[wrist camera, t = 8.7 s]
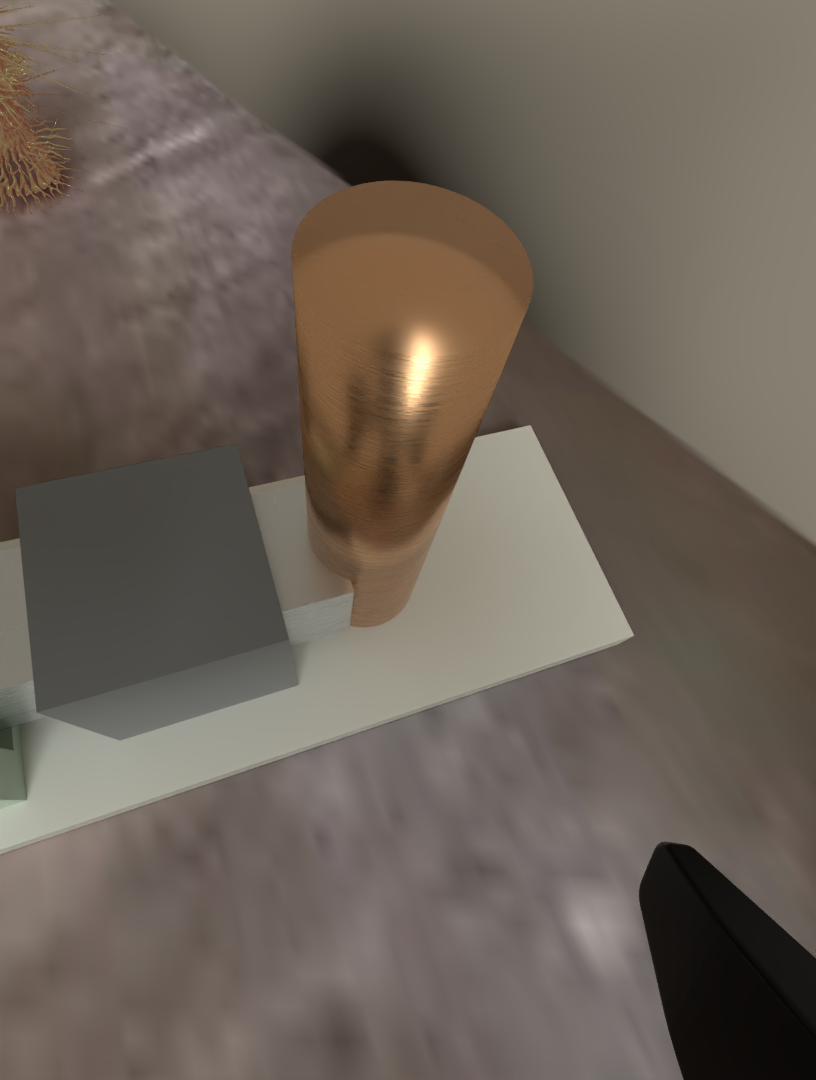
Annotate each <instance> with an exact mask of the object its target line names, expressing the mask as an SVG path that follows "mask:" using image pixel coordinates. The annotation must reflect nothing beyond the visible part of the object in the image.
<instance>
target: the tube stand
mask: <svg viewBox="0 0 816 1080" xmlns="http://www.w3.org/2000/svg"><path fill="white" fill-rule="evenodd" d="M302 483H305V475H303V476H298V477H294V478H289V479H285V480H280V481H276V482H271V483H267V484H262V485H258V486H253V487H248V483H247V479H246V475H245V472H244V468H243V464H242V460H241V457H240V453H239V449H238V445H237V444H232V445H227V446H222V447H217V448H212V449H207V450H202V451H197V452H192V453H187V454H182V455H177V456H172V457H167V458H162V459H157V460H152V461H147V462H142V463H137V464H132V465H128V466H123V467H118V468H113V469H108V470H103V471H98V472H93V473H88V474H83V475H78V476H73V477H68V478H63V479H58V480H53V481H48V482H43V483H38V484H33V485H28V486H23V487H18V488H15V497H16V507H17V517H18V528H19V538H18V539H13V540H9V541H4V542H0V551H3V550H7V549H12V548H16V547H20V548H21V559H22V569H23V579H24V589H25V600H26V610H27V620H28V631H29V641H30V651H31V661H32V672H33V682H34V692H35V703H36V713H39V714H42V715H45V716H48V717H47V718H43V719H40V720H36V721H33V722H29V723H26V724H23V725H20V730H21V741H22V753H23V764H24V776H25V787H26V799H27V801H24V802H21V803H18V804H14V805H11V806H8V807H5V808H2V809H0V854H3V853H6V852H8V851H11V850H14V849H17V848H20V847H23V846H26V845H29V844H32V843H35V842H38V841H41V840H44V839H47V838H50V837H53V836H56V835H59V834H61V833H64V832H67V831H70V830H73V829H76V828H79V827H82V826H85V825H88V824H91V823H94V822H97V821H100V820H103V819H106V818H109V817H111V816H114V815H117V814H120V813H123V812H126V811H129V810H132V809H135V808H138V807H141V806H144V805H147V804H150V803H153V802H156V801H159V800H162V799H164V798H167V797H170V796H173V795H176V794H179V793H182V792H185V791H188V790H191V789H194V788H197V787H200V786H203V785H206V784H209V783H212V782H215V781H217V780H220V779H223V778H226V777H229V776H232V775H235V774H238V773H241V772H244V771H247V770H250V769H253V768H256V767H259V766H262V765H265V764H267V763H270V762H273V761H276V760H279V759H282V758H285V757H288V756H291V755H294V754H297V753H300V752H303V751H306V750H309V749H312V748H315V747H318V746H320V745H323V744H326V743H329V742H332V741H335V740H338V739H341V738H344V737H347V736H350V735H353V734H356V733H359V732H362V731H365V730H368V729H370V728H373V727H376V726H379V725H382V724H385V723H388V722H391V721H394V720H397V719H400V718H403V717H406V716H409V715H412V714H415V713H418V712H421V711H423V710H426V709H429V708H432V707H435V706H438V705H441V704H444V703H447V702H450V701H453V700H456V699H459V698H462V697H465V696H468V695H471V694H474V693H476V692H479V691H482V690H485V689H488V688H491V687H494V686H497V685H500V684H503V683H506V682H509V681H512V680H515V679H518V678H521V677H524V676H526V675H529V674H532V673H535V672H538V671H541V670H544V669H547V668H550V667H553V666H556V665H559V664H562V663H565V662H568V661H571V660H574V659H577V658H579V657H582V656H585V655H588V654H591V653H594V652H597V651H600V650H603V649H606V648H609V647H612V646H615V645H618V644H620V643H622V642H623V641H625V640H627V639H629V638H630V637H632V636H634V634H633V632H632V630H631V628H630V626H629V624H628V622H627V620H626V618H625V616H624V614H623V612H622V610H621V608H620V606H619V604H618V602H617V600H616V598H615V596H614V594H613V592H612V590H611V588H610V586H609V584H608V582H607V580H606V578H605V575H604V573H603V571H602V569H601V567H600V565H599V563H598V561H597V559H596V557H595V555H594V553H593V551H592V549H591V547H590V545H589V543H588V541H587V539H586V537H585V535H584V533H583V531H582V529H581V527H580V525H579V523H578V521H577V519H576V517H575V515H574V513H573V511H572V508H571V506H570V504H569V502H568V500H567V498H566V496H565V494H564V492H563V490H562V488H561V486H560V484H559V482H558V480H557V478H556V476H555V474H554V472H553V470H552V468H551V466H550V464H549V462H548V460H547V458H546V456H545V454H544V452H543V450H542V448H541V446H540V444H539V442H538V439H537V437H536V435H535V433H534V431H533V429H532V427H531V425H529V426H525V427H520V428H516V429H511V430H507V431H502V432H498V433H493V434H488V435H484V436H479V437H475V439H474V441H473V444H472V446H471V449H470V451H469V454H468V456H467V459H466V461H465V463H464V466H463V468H462V471H461V473H460V476H459V478H458V481H457V483H456V486H455V488H454V491H453V493H452V495H451V498H450V500H449V503H448V505H447V508H446V510H445V513H444V515H443V518H442V520H441V523H440V525H439V527H438V530H437V532H436V535H435V537H434V540H433V542H432V545H431V547H430V550H429V552H428V555H427V557H426V559H425V562H424V564H423V567H422V569H421V572H420V574H419V577H418V579H417V582H416V584H415V586H414V589H413V591H412V594H411V596H410V599H409V601H408V603H407V604H406V606H405V607H404V608H403V610H402V611H401V612H400V613H399V614H398V615H397V616H395V617H394V618H393V619H391V620H389V621H388V622H386V623H383V624H381V625H378V626H373V627H365V628H364V627H353V626H349V629H347V630H344V631H340V632H337V633H333V634H330V635H327V636H323V637H320V638H316V639H313V640H310V641H306V642H303V643H299V644H296V645H292V646H290V641H289V637H288V633H287V629H286V625H285V622H284V618H283V614H282V610H281V607H280V603H279V599H278V595H277V592H276V588H275V584H274V580H273V577H272V573H271V569H270V565H269V562H268V558H267V554H266V550H265V547H264V543H263V539H262V535H261V532H260V528H259V524H258V520H257V517H256V513H255V509H254V505H253V502H252V498H251V495H253V494H257V493H262V492H266V491H270V490H275V489H279V488H284V487H288V486H293V485H297V484H302Z"/></svg>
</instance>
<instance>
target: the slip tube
mask: <svg viewBox="0 0 816 1080" xmlns="http://www.w3.org/2000/svg"><path fill="white" fill-rule="evenodd" d="M292 270H293V287H294V304H295V321H296V338H297V355H298V372H299V389H300V406H301V424H302V441H303V458H304V475H305V483H302V484H297V485H293V486H288V487H284V488H279V489H275V490H270V491H266V492H262V493H257V494H253V495H251V498H252V502H253V505H254V509H255V513H256V517H257V520H258V524H259V528H260V532H261V535H262V539H263V543H264V547H265V550H266V554H267V558H268V562H269V565H270V569H271V573H272V577H273V580H274V584H275V588H276V592H277V595H278V599H279V603H280V607H281V610H282V614H283V618H284V622H285V625H286V629H287V633H288V637H289V641H290V646H292V645H296V644H299V643H303V642H306V641H310V640H313V639H316V638H320V637H323V636H327V635H330V634H333V633H337V632H340V631H344V630H347V629H349V626H353V627H364V628H365V627H373V626H378V625H381V624H383V623H386V622H388V621H389V620H391V619H393V618H394V617H395V616H397V615H398V614H399V613H400V612H401V611H402V610H403V608H404V607H405V606H406V604H407V603H408V601H409V599H410V596H411V594H412V591H413V589H414V586H415V584H416V582H417V579H418V577H419V574H420V572H421V569H422V567H423V564H424V562H425V559H426V557H427V555H428V552H429V550H430V547H431V545H432V542H433V540H434V537H435V535H436V532H437V530H438V527H439V525H440V523H441V520H442V518H443V515H444V513H445V510H446V508H447V505H448V503H449V500H450V498H451V495H452V493H453V491H454V488H455V486H456V483H457V481H458V478H459V476H460V473H461V471H462V468H463V466H464V463H465V461H466V459H467V456H468V454H469V451H470V449H471V446H472V444H473V441H474V439H475V436H476V434H477V432H478V429H479V427H480V424H481V422H482V419H483V417H484V414H485V412H486V409H487V407H488V404H489V402H490V400H491V397H492V395H493V392H494V390H495V387H496V385H497V382H498V380H499V377H500V375H501V372H502V370H503V368H504V365H505V363H506V360H507V358H508V355H509V353H510V350H511V348H512V345H513V343H514V340H515V338H516V336H517V333H518V331H519V328H520V326H521V323H522V321H523V318H524V316H525V313H526V311H527V308H528V306H529V303H530V301H531V296H532V292H533V273H532V267H531V264H530V261H529V258H528V255H527V253H526V251H525V249H524V247H523V245H522V244H521V242H520V241H519V239H518V238H517V236H516V235H515V234H514V233H513V231H512V230H511V229H510V228H509V227H508V226H507V225H506V224H505V223H504V222H503V221H502V220H501V219H500V218H499V217H497V216H496V215H495V214H493V213H492V212H491V211H489V210H488V209H486V208H485V207H483V206H481V205H480V204H479V203H477V202H475V201H473V200H471V199H469V198H467V197H465V196H463V195H460V194H458V193H455V192H453V191H450V190H447V189H444V188H441V187H437V186H433V185H428V184H424V183H417V182H409V181H378V182H371V183H364V184H361V185H357V186H352V187H349V188H347V189H344V190H341V191H339V192H337V193H335V194H333V195H331V196H329V197H327V198H326V199H324V200H323V201H321V202H320V203H318V204H317V205H316V206H315V207H314V208H313V209H312V210H311V211H310V212H309V213H308V214H307V215H306V216H305V218H304V219H303V220H302V222H301V223H300V225H299V227H298V229H297V231H296V234H295V237H294V240H293V245H292ZM47 717H48V716H45V715H42V714H39V713H36V703H35V692H34V682H33V672H32V661H31V651H30V641H29V631H28V620H27V610H26V600H25V589H24V579H23V569H22V559H21V548H20V547H16V548H12V549H7V550H3V551H0V731H2V730H6V729H9V728H12V727H16V726H19V725H23V724H26V723H29V722H33V721H36V720H40V719H43V718H47Z"/></svg>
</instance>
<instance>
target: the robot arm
mask: <svg viewBox="0 0 816 1080" xmlns="http://www.w3.org/2000/svg"><path fill="white" fill-rule="evenodd" d="M639 901H640V907H641V911H642V916H643V920H644V925H645V929H646V934H647V938H648V943H649V947H650V952H651V956H652V961H653V965H654V970H655V974H656V979H657V983H658V988H659V992H660V997H661V1001H662V1006H663V1010H664V1014H665V1018H666V1022H667V1026H668V1030H669V1034H670V1037H671V1040H672V1044H673V1047H674V1051H675V1054H676V1057H677V1060H678V1063H679V1067H680V1070H681V1073H682V1076H683V1079H684V1080H816V958H815V957H814V956H813V955H811V954H810V953H809V952H808V951H807V950H806V949H805V948H804V947H803V946H801V945H800V944H799V943H798V942H797V941H796V940H795V939H794V938H793V937H792V936H790V935H789V934H788V933H787V932H786V931H785V930H784V929H783V928H782V927H780V926H779V925H778V924H777V923H776V922H775V921H774V920H773V919H772V918H770V917H769V916H768V915H767V914H766V913H765V912H764V911H763V910H762V909H760V908H759V907H758V906H757V905H756V904H755V903H754V902H753V901H752V900H750V899H749V898H748V897H747V896H746V895H745V894H744V893H743V892H742V891H741V890H739V889H738V888H737V887H736V886H735V885H734V884H733V883H732V882H731V881H729V880H728V879H727V878H726V877H725V876H724V875H723V874H722V873H721V872H719V871H718V870H717V869H716V868H715V867H714V866H713V865H712V864H711V863H709V862H708V861H707V860H706V859H705V858H704V857H703V856H702V855H701V854H700V853H698V852H697V851H696V850H695V849H694V848H692V847H691V846H688V845H685V844H678V843H671V842H661V843H659V844H658V845H657V846H656V848H655V850H654V852H653V854H652V857H651V859H650V862H649V864H648V866H647V869H646V871H645V874H644V876H643V878H642V881H641V884H640V889H639Z"/></svg>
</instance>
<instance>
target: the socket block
mask: <svg viewBox="0 0 816 1080" xmlns="http://www.w3.org/2000/svg"><path fill="white" fill-rule="evenodd" d="M24 801H27V799H26V787H25V776H24V764H23V753H22V741H21V730H20V725H19V726H16V727H12V728H9V729H6V730H2V731H0V809H2V808H5V807H8V806H11V805H14V804H18V803H21V802H24Z"/></svg>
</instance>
